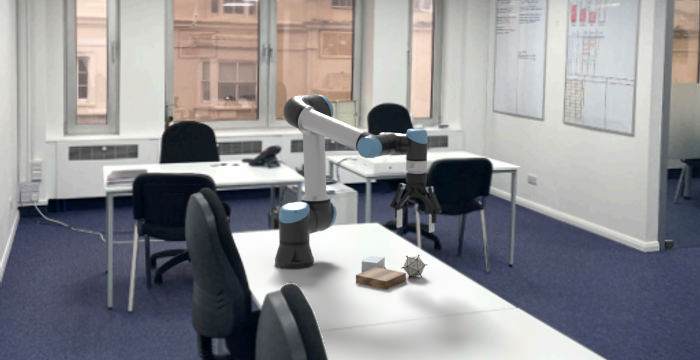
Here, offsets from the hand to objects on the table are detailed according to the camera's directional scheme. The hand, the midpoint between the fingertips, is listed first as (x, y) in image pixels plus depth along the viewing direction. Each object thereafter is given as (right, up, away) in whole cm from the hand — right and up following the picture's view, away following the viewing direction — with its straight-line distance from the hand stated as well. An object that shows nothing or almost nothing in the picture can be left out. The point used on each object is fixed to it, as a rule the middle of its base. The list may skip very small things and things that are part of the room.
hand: (415, 229), depth 297 cm
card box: (-15, -16, +13) cm, 26 cm away
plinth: (-13, -19, -4) cm, 23 cm away
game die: (0, -18, +3) cm, 18 cm away
